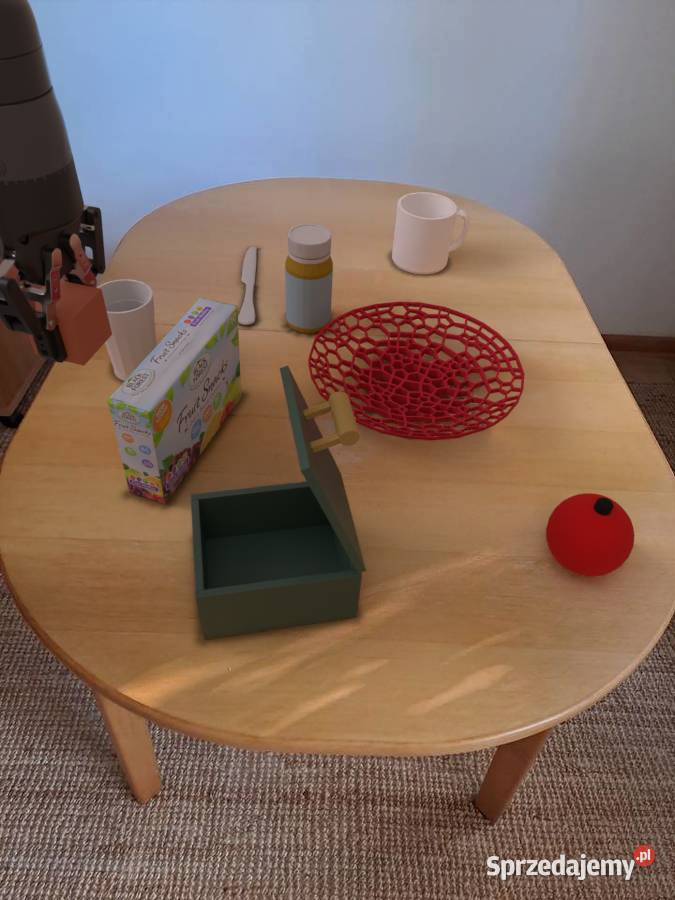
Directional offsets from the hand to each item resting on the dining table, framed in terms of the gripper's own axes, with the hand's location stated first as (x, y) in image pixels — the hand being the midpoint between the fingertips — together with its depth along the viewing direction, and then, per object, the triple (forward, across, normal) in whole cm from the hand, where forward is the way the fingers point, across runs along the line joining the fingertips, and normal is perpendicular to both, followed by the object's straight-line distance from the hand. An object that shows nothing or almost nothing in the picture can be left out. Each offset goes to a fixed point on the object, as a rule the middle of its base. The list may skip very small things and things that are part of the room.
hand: (72, 340), depth 62 cm
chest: (+23, +4, +21) cm, 31 cm away
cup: (+24, -23, -10) cm, 34 cm away
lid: (+8, +2, +25) cm, 26 cm away
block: (0, 0, 0) cm, 0 cm away
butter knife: (+23, -49, -3) cm, 54 cm away
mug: (+24, -67, +24) cm, 75 cm away
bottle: (+24, -42, +9) cm, 49 cm away
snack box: (+24, -12, +4) cm, 27 cm away
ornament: (+24, -9, +52) cm, 58 cm away
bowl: (+24, -31, +28) cm, 48 cm away
